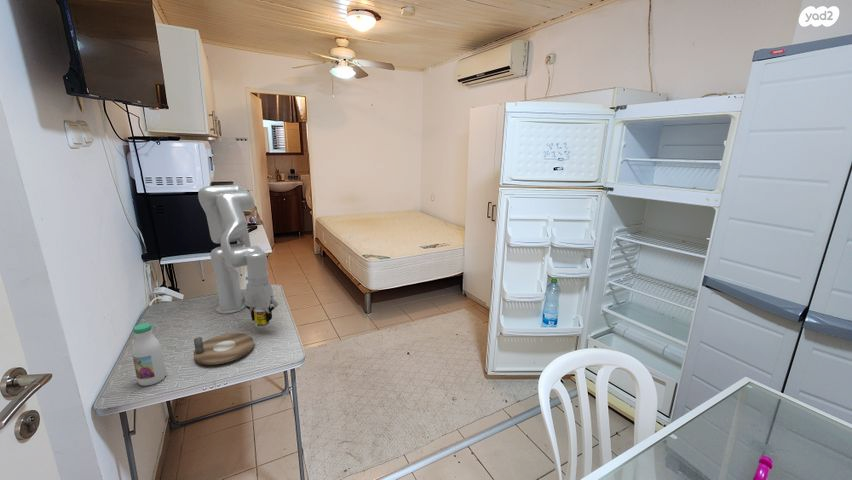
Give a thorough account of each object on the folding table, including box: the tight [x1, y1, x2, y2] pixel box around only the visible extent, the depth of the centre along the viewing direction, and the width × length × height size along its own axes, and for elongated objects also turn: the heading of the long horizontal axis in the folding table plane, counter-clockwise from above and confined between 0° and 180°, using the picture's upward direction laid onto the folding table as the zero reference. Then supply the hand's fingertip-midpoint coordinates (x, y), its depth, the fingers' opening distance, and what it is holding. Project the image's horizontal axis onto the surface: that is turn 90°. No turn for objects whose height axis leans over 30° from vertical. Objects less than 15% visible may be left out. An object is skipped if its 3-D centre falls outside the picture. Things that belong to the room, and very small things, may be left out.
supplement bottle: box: [254, 308, 270, 329], centre depth 150 cm, size 6×6×10 cm
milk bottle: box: [131, 322, 167, 387], centre depth 117 cm, size 8×8×20 cm
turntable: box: [193, 332, 254, 366], centre depth 135 cm, size 20×20×7 cm
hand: (261, 319), depth 150 cm, fingers closed on supplement bottle, 5 cm apart
